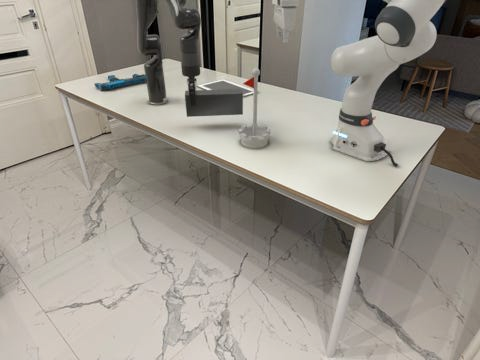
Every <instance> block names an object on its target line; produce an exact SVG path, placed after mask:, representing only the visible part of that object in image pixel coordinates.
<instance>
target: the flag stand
mask: <svg viewBox="0 0 480 360" xmlns="http://www.w3.org/2000/svg"><path fill="white" fill-rule="evenodd" d="M260 74H261V70H260V69H259V68H258V67H256V68H253V69H252V70H251V75H252V77H250V78H249V79H248V80H246V81H245V82H243V83H242V85H243V86H246V87H248V88H251V89H253V90H254V93H253V94H252V95H253V96H252V97H253V98H252V99H253V101H252V123H250V124H251V125H250V126H248V124H244V125H243V124H242V125H241V126H240V127H241V128H238V138H239V139H240V143H241V145H242V146H244V147H245V148H249V149H260V148H264V147H266V146H267V145H268V142H269V141H268V140H269V139H270V138H271V132H272V131H271V128H268V126H267V125H265V124H262V125H261V126H258V123H257V122H258V119H257V118H258V93H259V90H258V87H259V85H258V84H259V76H260ZM257 92H258V93H257Z"/></svg>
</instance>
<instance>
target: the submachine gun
mask: <svg viewBox="0 0 480 360" xmlns="http://www.w3.org/2000/svg"><path fill="white" fill-rule="evenodd" d="M131 76H132V77H129V78H118V77H116V75H114V74H112V75H108V76H107V79H108V80H109V81H108V82H94V87H95V88H97V89H98V90H100V91H103V90H104V91H106V90H114V89H115V88H118V87H119V88H120V87H123V86H128V85H133V84H138V83H144V82H146V76H145V73H144V74H143V73H142V74H138V73H133V74H132V75H131Z"/></svg>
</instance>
